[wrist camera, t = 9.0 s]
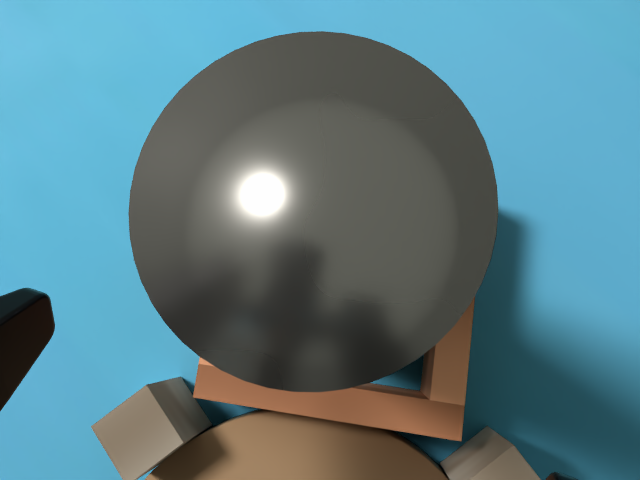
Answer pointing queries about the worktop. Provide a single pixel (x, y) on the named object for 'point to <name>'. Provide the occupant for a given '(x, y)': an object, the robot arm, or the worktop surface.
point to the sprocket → (309, 428)
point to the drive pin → (313, 211)
